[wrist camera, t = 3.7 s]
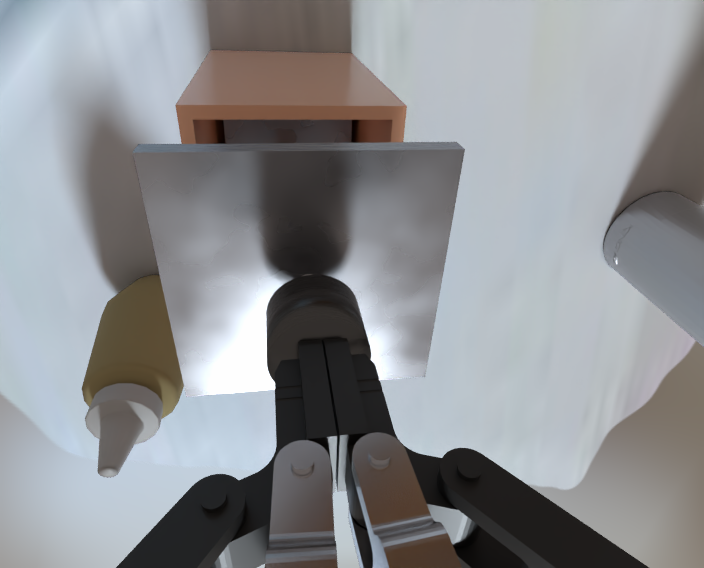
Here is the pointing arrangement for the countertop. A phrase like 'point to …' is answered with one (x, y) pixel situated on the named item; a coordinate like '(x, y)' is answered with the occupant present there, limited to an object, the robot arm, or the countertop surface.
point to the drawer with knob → (297, 247)
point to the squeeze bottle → (131, 372)
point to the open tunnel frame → (287, 94)
